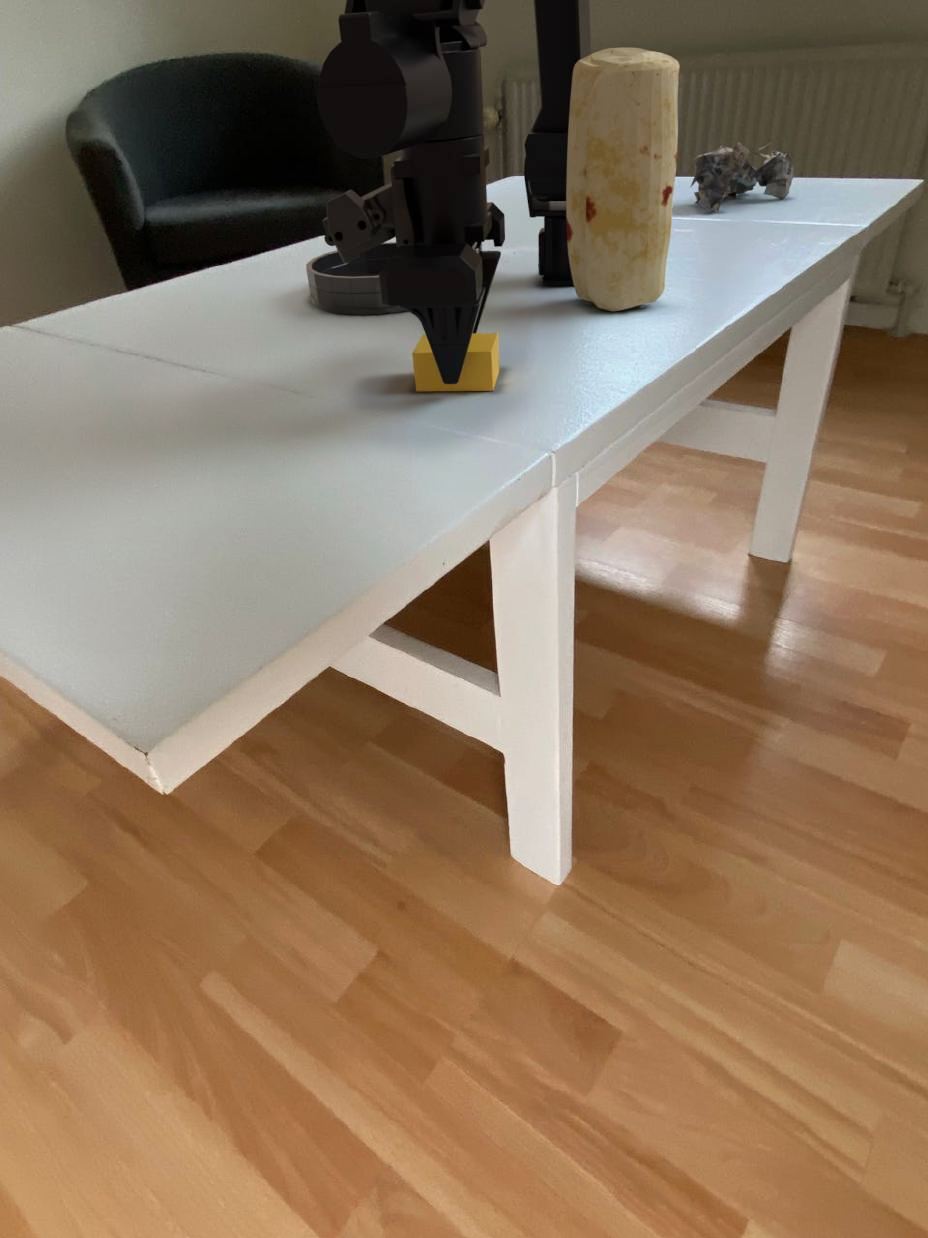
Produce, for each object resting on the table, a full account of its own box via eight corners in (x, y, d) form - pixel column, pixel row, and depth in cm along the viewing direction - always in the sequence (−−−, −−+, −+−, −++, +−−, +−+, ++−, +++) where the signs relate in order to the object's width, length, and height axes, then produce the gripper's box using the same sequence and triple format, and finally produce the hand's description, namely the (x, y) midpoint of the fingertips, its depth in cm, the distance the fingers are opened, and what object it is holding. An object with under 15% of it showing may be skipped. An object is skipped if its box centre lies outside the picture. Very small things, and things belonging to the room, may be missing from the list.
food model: (673, 295, 78) (695, 41, 66) (653, 318, 74) (673, 49, 61) (576, 288, 82) (580, 47, 69) (552, 309, 77) (552, 55, 65)
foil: (823, 176, 106) (736, 111, 101) (766, 253, 111) (681, 195, 106) (789, 160, 115) (708, 99, 110) (738, 232, 121) (659, 177, 115)
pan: (464, 272, 91) (462, 239, 89) (442, 313, 79) (439, 275, 77) (334, 277, 93) (329, 244, 91) (293, 316, 81) (286, 280, 79)
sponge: (499, 370, 65) (498, 332, 63) (493, 390, 62) (491, 351, 60) (426, 371, 66) (422, 334, 64) (416, 391, 63) (412, 352, 61)
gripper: (358, 127, 63) (383, 332, 72) (280, 163, 48) (324, 415, 57) (502, 118, 61) (508, 329, 70) (467, 153, 46) (481, 414, 55)
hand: (457, 367), depth 63 cm, fingers open, 6 cm apart
